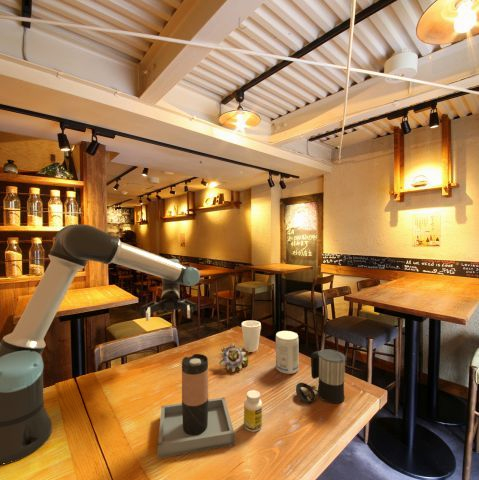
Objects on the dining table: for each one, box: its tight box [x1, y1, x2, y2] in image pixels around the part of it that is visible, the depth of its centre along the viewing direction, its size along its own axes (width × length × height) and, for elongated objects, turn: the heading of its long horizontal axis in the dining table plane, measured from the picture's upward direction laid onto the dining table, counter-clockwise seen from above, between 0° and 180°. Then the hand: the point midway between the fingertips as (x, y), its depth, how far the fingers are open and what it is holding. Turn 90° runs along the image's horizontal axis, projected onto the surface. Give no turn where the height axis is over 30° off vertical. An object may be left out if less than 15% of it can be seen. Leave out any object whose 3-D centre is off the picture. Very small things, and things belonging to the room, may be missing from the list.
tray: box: [157, 397, 235, 460], centre depth 79 cm, size 20×16×4 cm
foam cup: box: [241, 320, 262, 352], centre depth 132 cm, size 10×9×13 cm
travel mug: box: [181, 353, 209, 435], centre depth 79 cm, size 8×8×20 cm
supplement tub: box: [275, 330, 300, 375], centre depth 114 cm, size 10×10×15 cm
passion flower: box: [219, 342, 249, 373], centre depth 116 cm, size 11×11×12 cm
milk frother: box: [295, 348, 347, 404], centre depth 95 cm, size 14×16×15 cm
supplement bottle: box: [243, 389, 263, 433], centre depth 81 cm, size 5×5×10 cm
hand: (168, 315), depth 91 cm, fingers open, 13 cm apart
